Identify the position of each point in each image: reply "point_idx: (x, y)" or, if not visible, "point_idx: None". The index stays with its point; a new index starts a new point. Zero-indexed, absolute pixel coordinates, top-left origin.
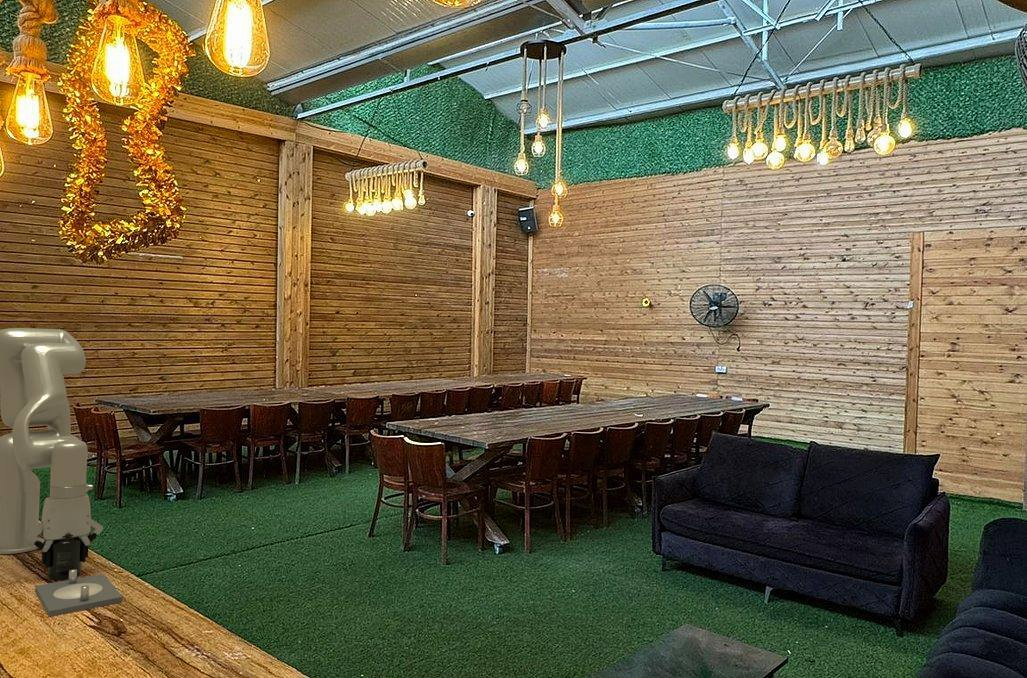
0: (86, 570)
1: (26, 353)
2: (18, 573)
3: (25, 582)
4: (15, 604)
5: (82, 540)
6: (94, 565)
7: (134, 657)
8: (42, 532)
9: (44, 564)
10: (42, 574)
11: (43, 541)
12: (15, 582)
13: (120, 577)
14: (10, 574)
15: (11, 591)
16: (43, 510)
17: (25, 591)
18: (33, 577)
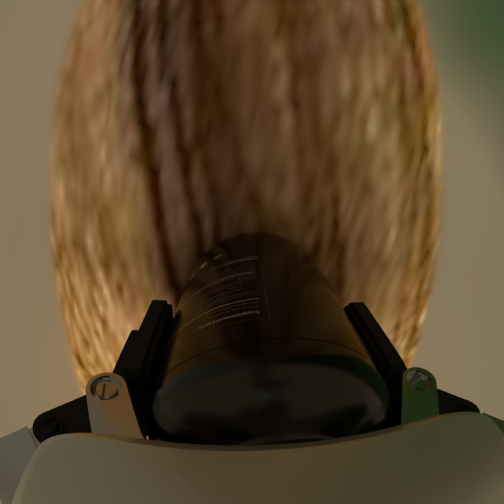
0: (355, 265)
1: None
2: (82, 128)
3: (102, 281)
4: None
5: (398, 403)
6: (404, 212)
7: None
8: (37, 455)
9: (154, 301)
10: (170, 207)
11: (91, 426)
12: (70, 258)
13: None
14: (57, 128)
15: (74, 344)
16: None
17: (113, 368)
18: (130, 231)
